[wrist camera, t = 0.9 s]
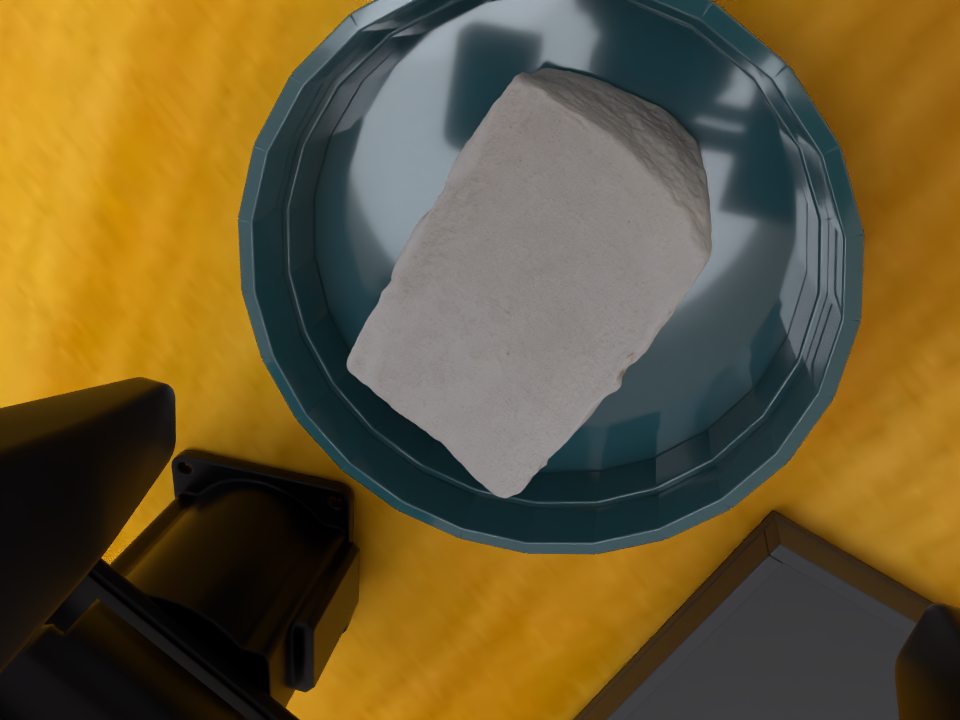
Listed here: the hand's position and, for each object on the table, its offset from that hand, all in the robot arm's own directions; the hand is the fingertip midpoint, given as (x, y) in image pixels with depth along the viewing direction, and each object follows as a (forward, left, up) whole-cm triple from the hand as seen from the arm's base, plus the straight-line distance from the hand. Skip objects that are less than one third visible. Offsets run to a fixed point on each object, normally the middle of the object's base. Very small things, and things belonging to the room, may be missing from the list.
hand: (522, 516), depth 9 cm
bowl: (-1, -1, -13) cm, 13 cm away
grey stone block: (-1, -1, -13) cm, 13 cm away
